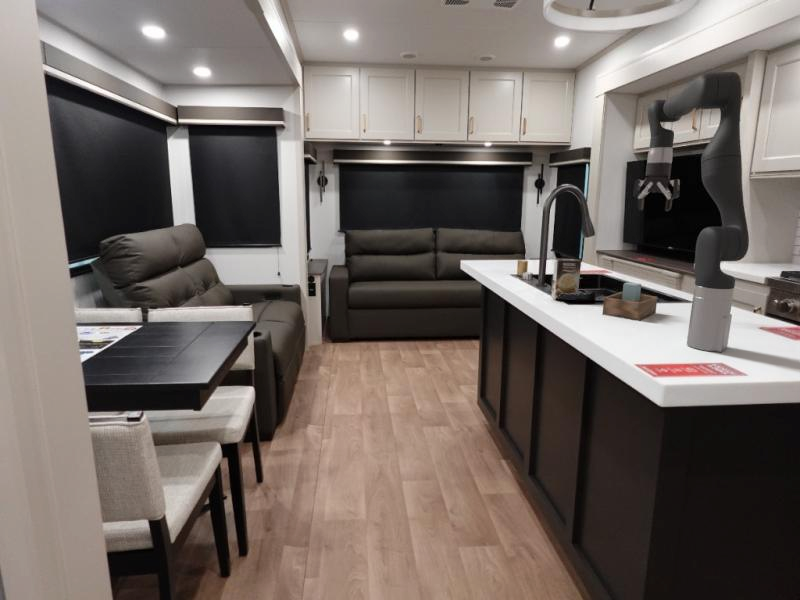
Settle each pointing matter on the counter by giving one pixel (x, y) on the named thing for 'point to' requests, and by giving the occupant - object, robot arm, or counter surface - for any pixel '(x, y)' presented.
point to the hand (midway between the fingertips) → (653, 210)
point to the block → (631, 292)
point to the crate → (629, 307)
